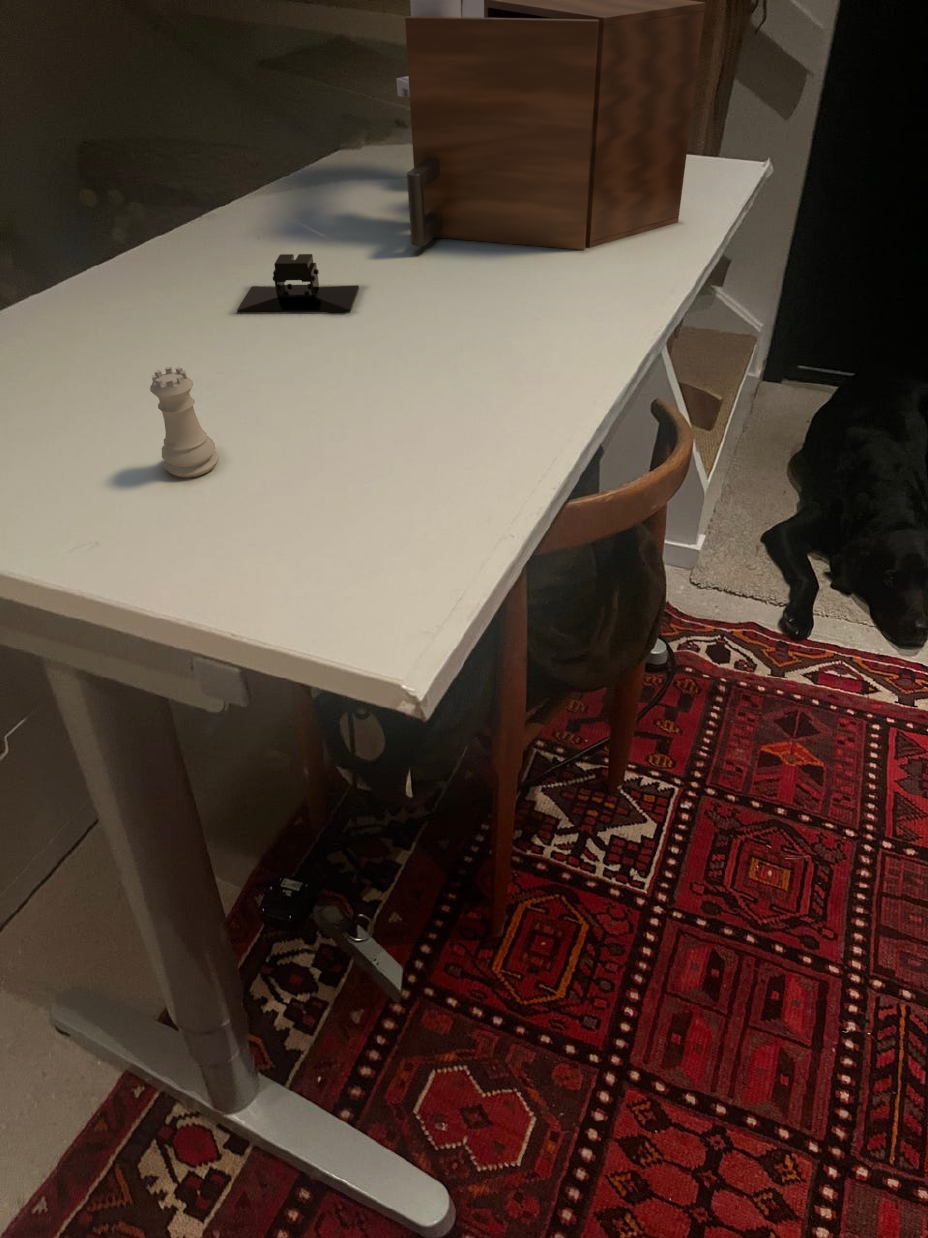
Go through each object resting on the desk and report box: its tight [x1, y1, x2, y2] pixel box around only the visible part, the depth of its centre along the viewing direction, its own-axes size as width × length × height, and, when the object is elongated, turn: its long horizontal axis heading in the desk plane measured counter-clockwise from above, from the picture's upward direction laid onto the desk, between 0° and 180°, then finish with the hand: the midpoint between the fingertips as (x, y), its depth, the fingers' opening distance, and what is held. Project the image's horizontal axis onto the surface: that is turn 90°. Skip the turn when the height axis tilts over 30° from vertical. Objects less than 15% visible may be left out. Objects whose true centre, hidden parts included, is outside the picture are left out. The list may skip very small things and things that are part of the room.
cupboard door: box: [404, 15, 599, 251], centre depth 101 cm, size 8×22×23 cm, turn 71°
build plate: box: [236, 253, 360, 315], centre depth 98 cm, size 12×7×5 cm, turn 87°
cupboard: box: [484, 0, 706, 249], centre depth 111 cm, size 15×22×24 cm
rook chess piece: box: [149, 366, 220, 478], centre depth 71 cm, size 4×4×8 cm
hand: (442, 168), depth 112 cm, fingers closed
